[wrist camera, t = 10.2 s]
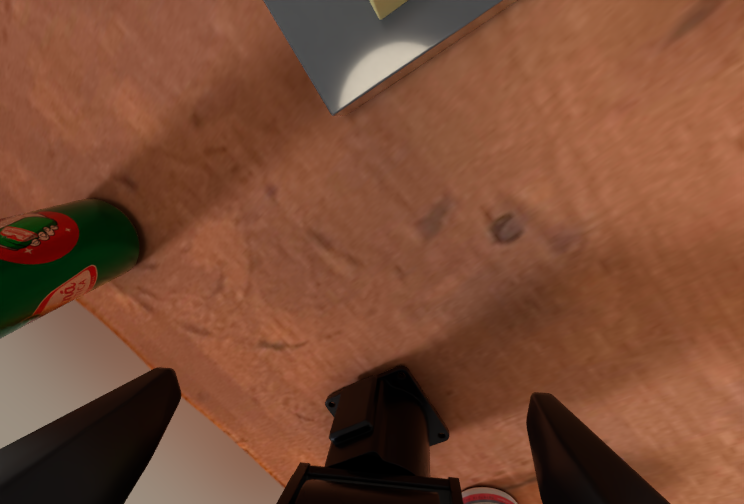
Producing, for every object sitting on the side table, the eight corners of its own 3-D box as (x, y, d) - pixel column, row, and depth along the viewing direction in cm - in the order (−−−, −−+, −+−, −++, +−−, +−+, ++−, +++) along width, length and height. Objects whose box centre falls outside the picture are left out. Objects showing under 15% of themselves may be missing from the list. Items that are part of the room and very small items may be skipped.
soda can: (104, 282, 25) (-155, 416, 14) (56, 215, 24) (-274, 303, 12) (161, 255, 24) (-73, 379, 12) (113, 183, 22) (-196, 249, 11)
